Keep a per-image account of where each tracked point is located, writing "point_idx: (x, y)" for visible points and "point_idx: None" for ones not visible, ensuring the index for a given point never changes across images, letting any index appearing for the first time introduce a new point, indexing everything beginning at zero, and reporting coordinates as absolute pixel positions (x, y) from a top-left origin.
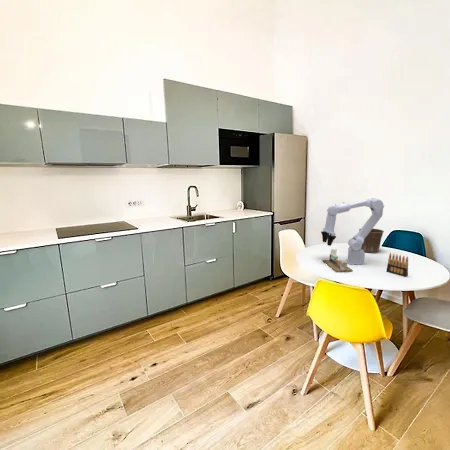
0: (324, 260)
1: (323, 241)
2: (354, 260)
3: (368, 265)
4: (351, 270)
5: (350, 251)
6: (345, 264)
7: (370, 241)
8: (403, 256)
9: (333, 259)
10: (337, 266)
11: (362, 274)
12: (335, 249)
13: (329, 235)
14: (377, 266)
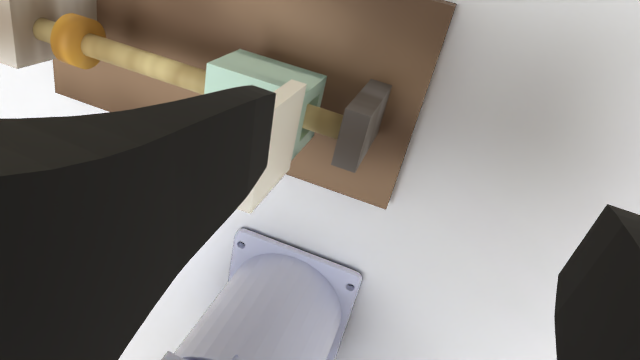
0: (429, 20)
1: (604, 224)
2: (225, 286)
3: (192, 325)
4: (55, 78)
5: (209, 346)
6: None
7: None
8: None
9: (236, 54)
10: (167, 20)
11: (12, 116)
12: (246, 197)
13: None
14: (162, 353)
